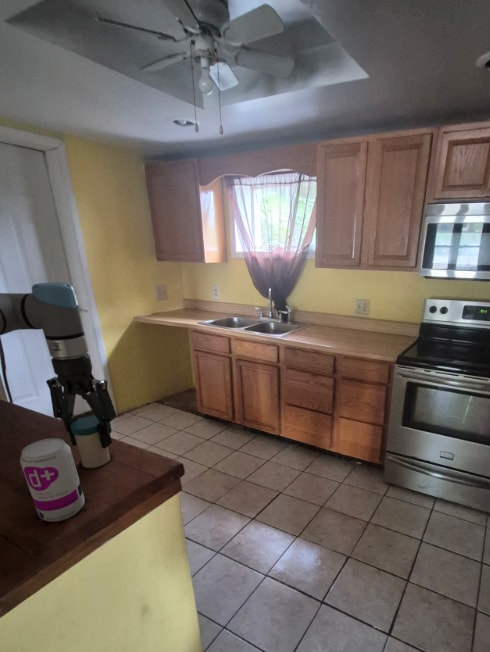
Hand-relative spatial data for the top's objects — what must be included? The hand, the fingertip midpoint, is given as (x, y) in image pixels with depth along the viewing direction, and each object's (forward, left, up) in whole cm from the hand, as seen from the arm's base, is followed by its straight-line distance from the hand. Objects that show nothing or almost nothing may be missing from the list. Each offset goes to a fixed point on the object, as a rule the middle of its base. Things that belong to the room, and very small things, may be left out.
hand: (92, 444), depth 92 cm
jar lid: (0, 0, +6) cm, 6 cm away
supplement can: (+5, -18, -5) cm, 19 cm away
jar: (0, 0, -5) cm, 5 cm away
